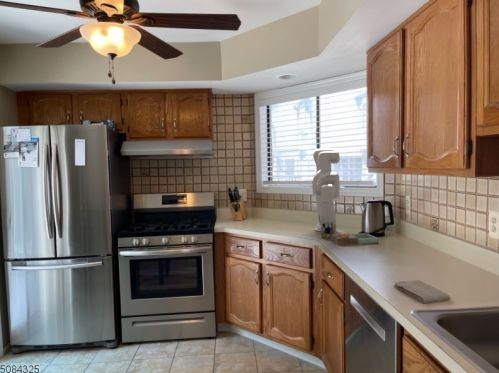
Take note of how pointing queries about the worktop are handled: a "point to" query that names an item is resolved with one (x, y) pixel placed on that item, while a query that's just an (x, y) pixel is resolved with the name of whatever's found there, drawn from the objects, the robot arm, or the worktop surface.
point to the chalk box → (332, 231)
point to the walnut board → (344, 240)
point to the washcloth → (421, 291)
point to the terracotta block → (344, 234)
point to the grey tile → (338, 232)
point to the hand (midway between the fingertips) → (327, 233)
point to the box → (365, 238)
